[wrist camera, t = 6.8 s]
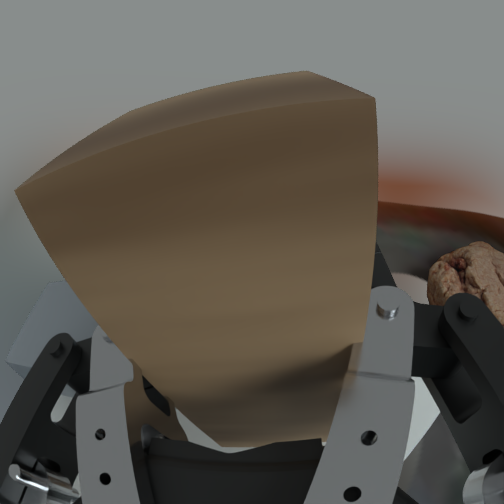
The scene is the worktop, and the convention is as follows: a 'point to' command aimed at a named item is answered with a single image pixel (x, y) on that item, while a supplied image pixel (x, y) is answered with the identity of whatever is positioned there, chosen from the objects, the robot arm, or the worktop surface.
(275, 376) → the walnut pillar
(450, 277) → the cookie
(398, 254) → the worktop surface
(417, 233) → the worktop surface
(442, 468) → the worktop surface
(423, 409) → the base board
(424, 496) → the worktop surface
